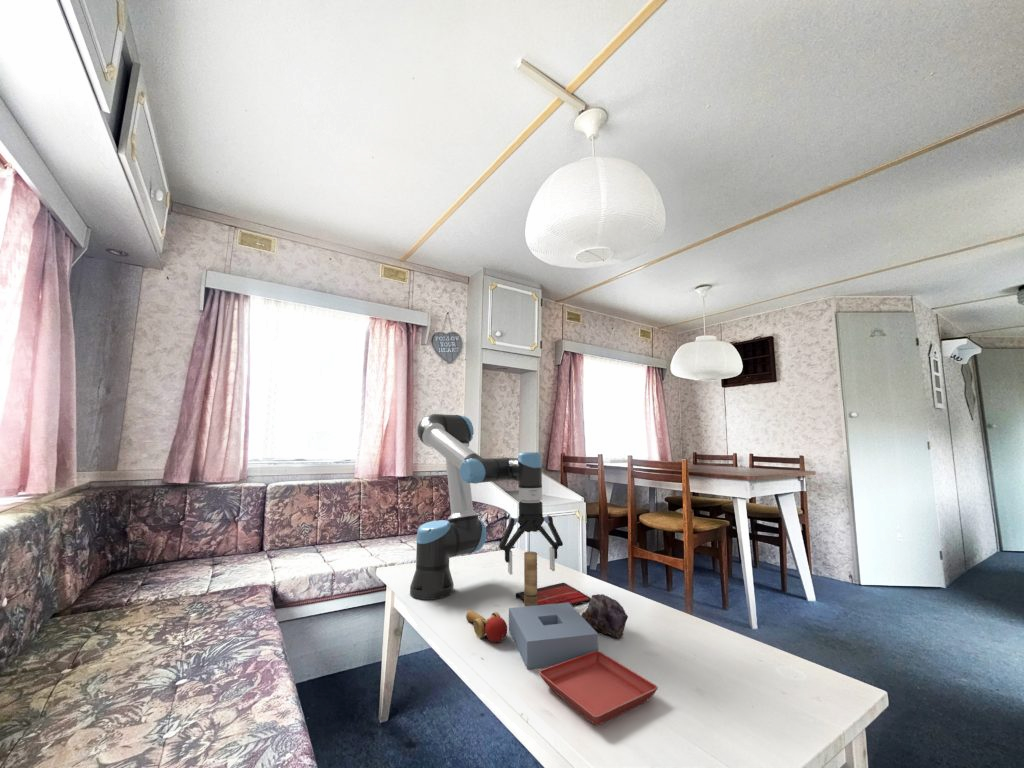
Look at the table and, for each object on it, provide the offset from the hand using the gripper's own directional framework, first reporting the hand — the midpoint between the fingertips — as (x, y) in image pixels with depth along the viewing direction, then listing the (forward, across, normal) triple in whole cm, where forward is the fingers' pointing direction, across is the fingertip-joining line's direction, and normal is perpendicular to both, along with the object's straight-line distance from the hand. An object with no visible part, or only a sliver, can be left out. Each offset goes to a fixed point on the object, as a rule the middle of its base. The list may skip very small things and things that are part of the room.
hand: (531, 571), depth 126 cm
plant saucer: (+14, +3, -40) cm, 43 cm away
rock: (+13, +18, -14) cm, 26 cm away
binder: (+13, +11, +10) cm, 20 cm away
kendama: (+13, -16, -8) cm, 22 cm away
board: (+13, 0, -18) cm, 23 cm away
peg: (+13, 0, 0) cm, 13 cm away
